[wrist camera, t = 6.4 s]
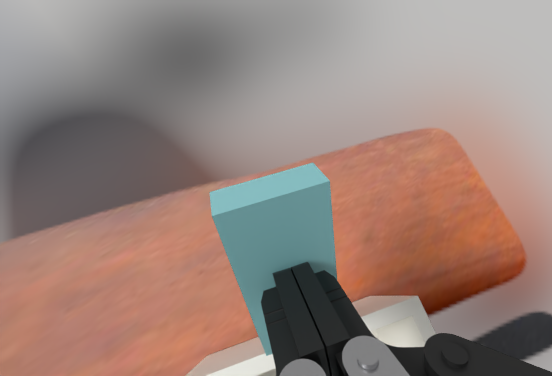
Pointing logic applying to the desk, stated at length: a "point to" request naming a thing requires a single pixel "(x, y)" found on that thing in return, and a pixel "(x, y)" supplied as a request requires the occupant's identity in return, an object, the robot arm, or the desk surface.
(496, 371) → the robot arm
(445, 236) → the desk surface
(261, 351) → the carton
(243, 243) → the flap
